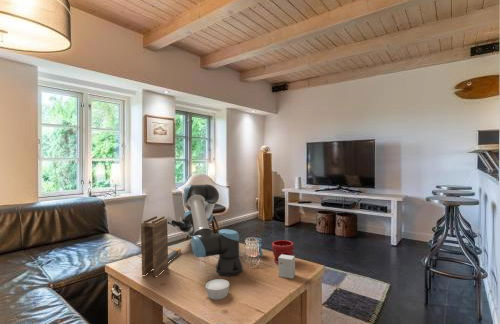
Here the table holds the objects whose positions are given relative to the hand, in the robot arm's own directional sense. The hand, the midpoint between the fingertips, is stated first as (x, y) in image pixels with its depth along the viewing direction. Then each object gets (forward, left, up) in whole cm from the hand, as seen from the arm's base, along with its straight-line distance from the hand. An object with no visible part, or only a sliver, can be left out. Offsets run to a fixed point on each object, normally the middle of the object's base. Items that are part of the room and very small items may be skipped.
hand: (173, 218), depth 176 cm
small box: (-75, +19, -26) cm, 81 cm away
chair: (-54, -8, -26) cm, 60 cm away
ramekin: (-43, +44, -26) cm, 67 cm away
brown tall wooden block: (0, +24, -25) cm, 35 cm away
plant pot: (-72, 0, -26) cm, 76 cm away
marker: (0, +4, -25) cm, 26 cm away
